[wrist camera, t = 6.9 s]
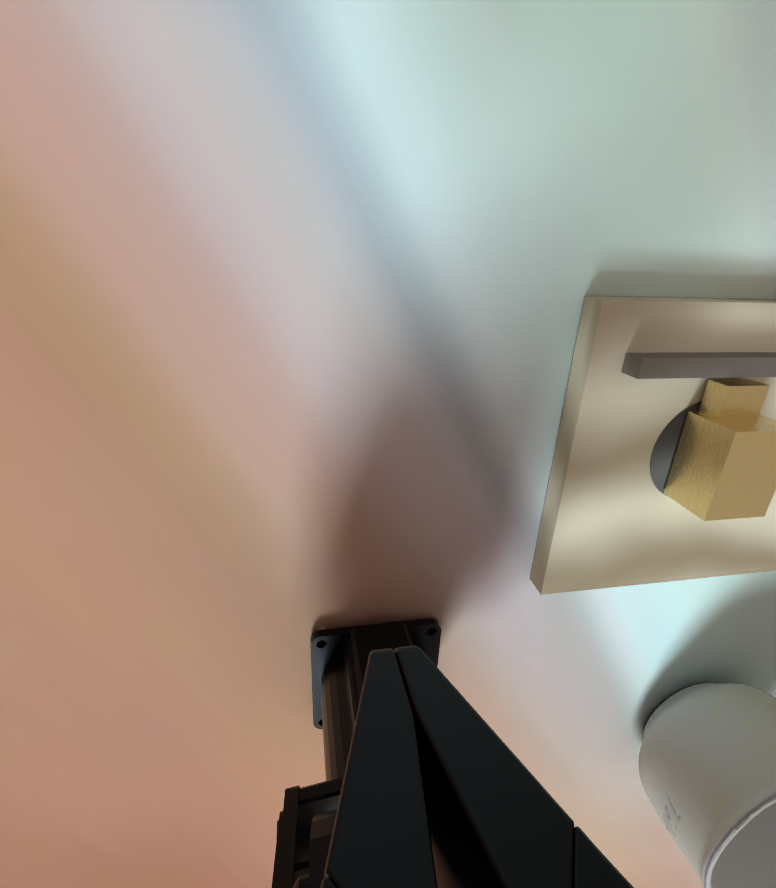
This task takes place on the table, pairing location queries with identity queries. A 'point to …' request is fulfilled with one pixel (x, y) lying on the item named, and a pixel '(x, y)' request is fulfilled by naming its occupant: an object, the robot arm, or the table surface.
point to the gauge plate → (648, 444)
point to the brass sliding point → (726, 454)
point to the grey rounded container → (716, 780)
